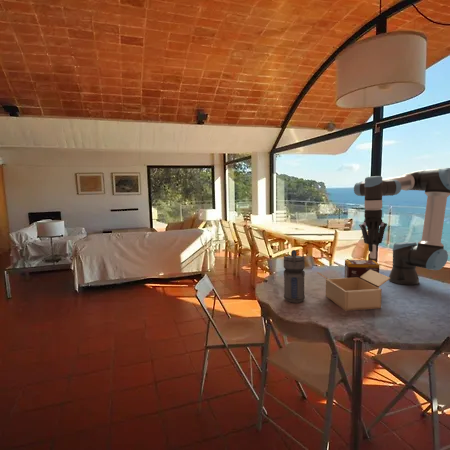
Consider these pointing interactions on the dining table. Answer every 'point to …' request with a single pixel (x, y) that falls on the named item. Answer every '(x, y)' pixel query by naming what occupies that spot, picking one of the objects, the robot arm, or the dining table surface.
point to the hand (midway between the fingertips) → (372, 257)
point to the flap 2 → (375, 278)
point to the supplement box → (360, 268)
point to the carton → (353, 294)
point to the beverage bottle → (294, 278)
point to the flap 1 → (329, 280)
